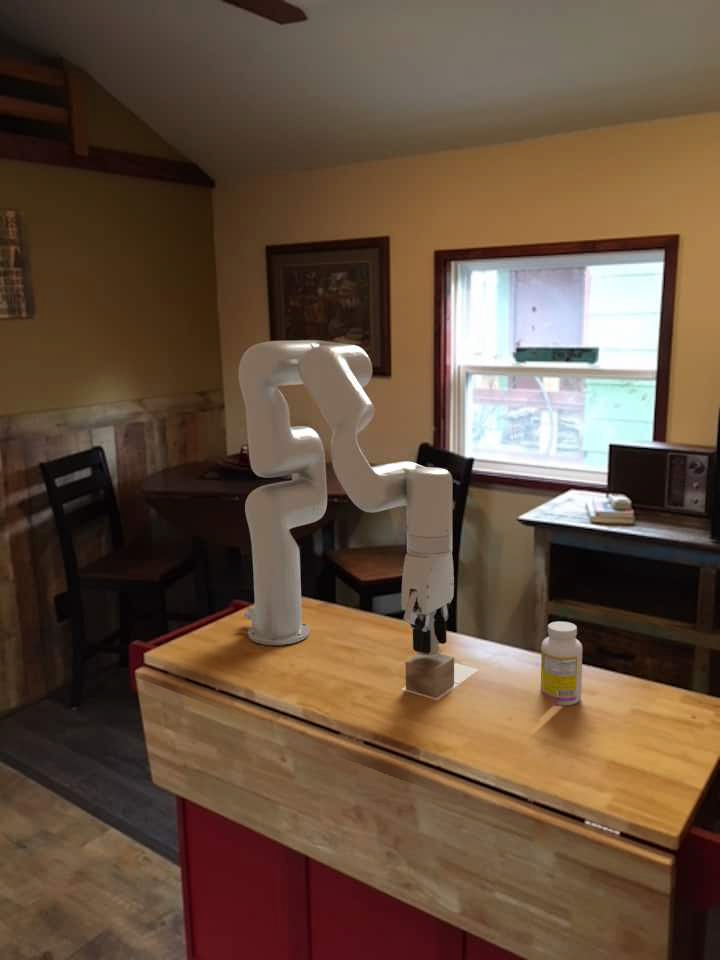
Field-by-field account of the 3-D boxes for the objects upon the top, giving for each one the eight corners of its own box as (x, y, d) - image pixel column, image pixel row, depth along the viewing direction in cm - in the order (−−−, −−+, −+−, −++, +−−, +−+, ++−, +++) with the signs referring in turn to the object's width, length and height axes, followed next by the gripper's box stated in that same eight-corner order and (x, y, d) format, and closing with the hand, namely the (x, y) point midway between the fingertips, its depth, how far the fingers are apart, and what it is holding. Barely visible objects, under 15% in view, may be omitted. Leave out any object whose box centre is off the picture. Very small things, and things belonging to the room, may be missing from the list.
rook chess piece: (438, 656, 135) (439, 611, 134) (412, 655, 136) (412, 609, 134) (440, 646, 139) (441, 602, 138) (414, 645, 140) (414, 601, 139)
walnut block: (405, 689, 138) (405, 661, 137) (424, 676, 142) (424, 649, 141) (436, 697, 134) (436, 669, 133) (454, 684, 139) (454, 657, 138)
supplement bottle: (554, 686, 141) (556, 616, 138) (588, 697, 136) (591, 625, 134) (532, 698, 136) (534, 626, 134) (567, 711, 132) (569, 636, 129)
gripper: (436, 529, 142) (436, 627, 146) (381, 551, 129) (383, 658, 132) (474, 534, 138) (473, 635, 141) (421, 558, 125) (422, 669, 128)
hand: (429, 645), depth 137 cm, fingers closed on rook chess piece, 4 cm apart
